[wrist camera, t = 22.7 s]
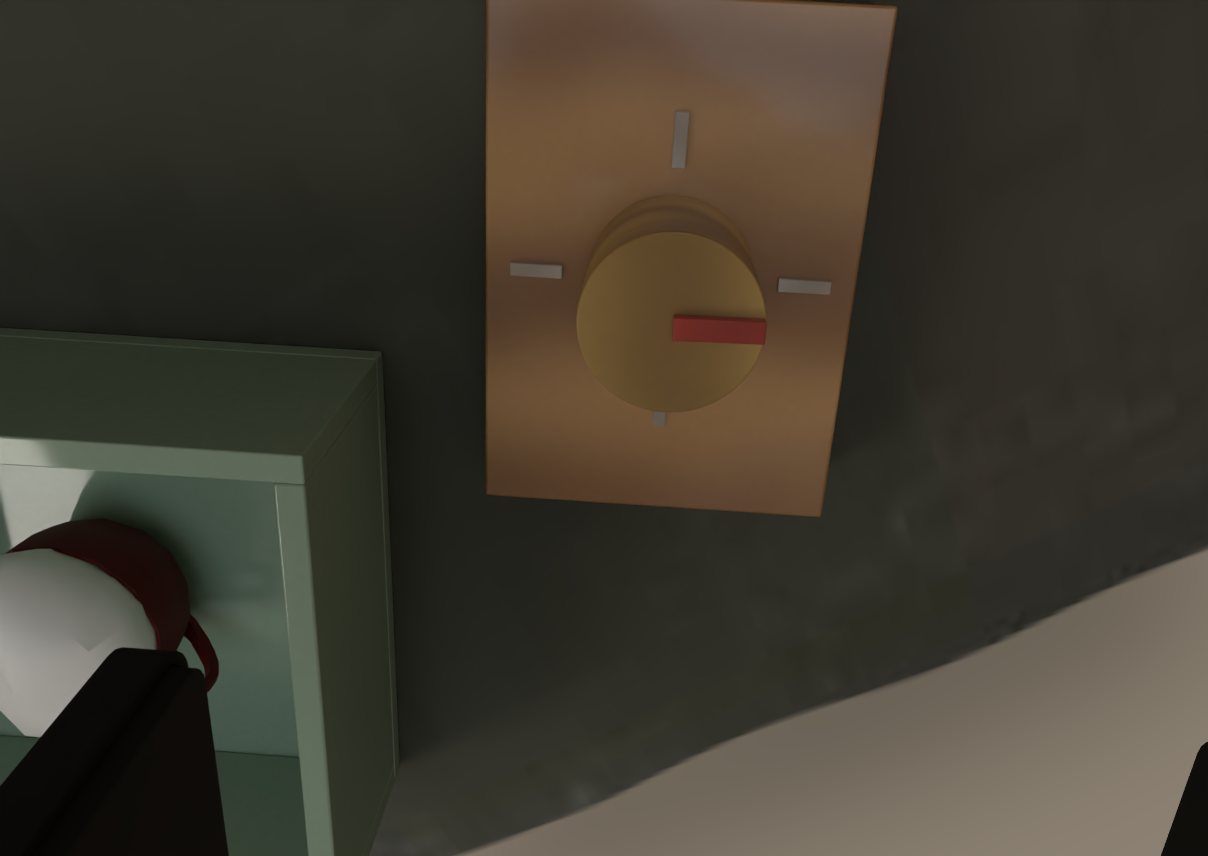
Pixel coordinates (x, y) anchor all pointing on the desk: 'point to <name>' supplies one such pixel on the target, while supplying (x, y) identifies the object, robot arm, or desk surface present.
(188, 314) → the desk surface
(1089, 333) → the desk surface
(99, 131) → the desk surface
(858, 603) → the desk surface
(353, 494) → the green open box
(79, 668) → the cocoa
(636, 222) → the rotary knob
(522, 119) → the wooden knob base
